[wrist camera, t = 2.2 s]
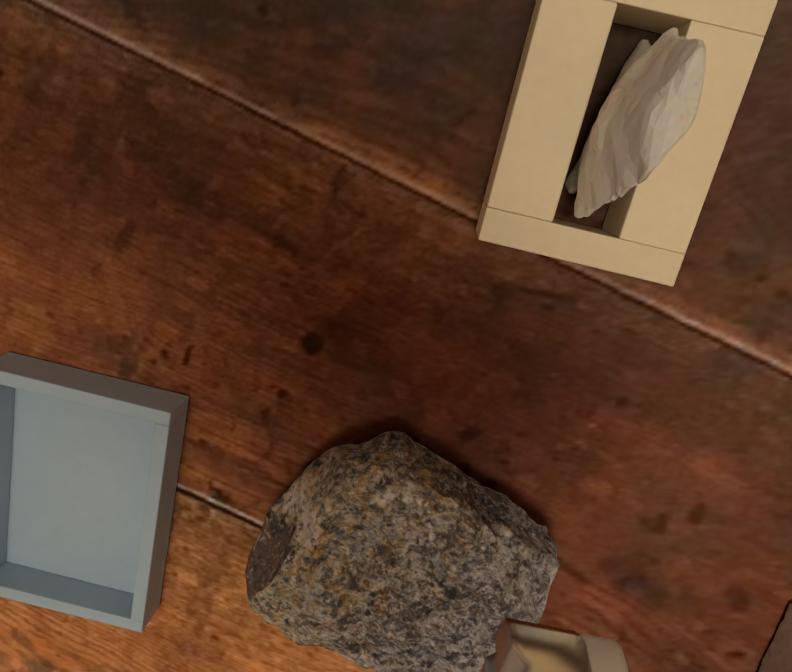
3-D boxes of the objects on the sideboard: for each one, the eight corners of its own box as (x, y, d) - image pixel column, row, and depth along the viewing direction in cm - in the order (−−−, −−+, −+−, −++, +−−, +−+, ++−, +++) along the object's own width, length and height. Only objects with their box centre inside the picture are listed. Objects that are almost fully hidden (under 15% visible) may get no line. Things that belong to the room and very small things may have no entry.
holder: (475, 230, 32) (478, 239, 29) (544, -32, 28) (556, -56, 25) (650, 272, 32) (673, 286, 28) (741, 14, 28) (779, -4, 25)
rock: (574, 528, 36) (358, 379, 35) (599, 600, 30) (337, 422, 29) (445, 672, 39) (243, 539, 38) (443, 765, 33) (202, 609, 32)
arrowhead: (586, 219, 31) (646, 249, 22) (542, 202, 31) (582, 225, 22) (662, 49, 29) (767, -1, 19) (614, 31, 29) (695, -28, 19)
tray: (160, 604, 40) (141, 633, 38) (-2, 563, 40) (-30, 589, 38) (189, 395, 36) (171, 413, 33) (9, 351, 36) (-23, 365, 34)
